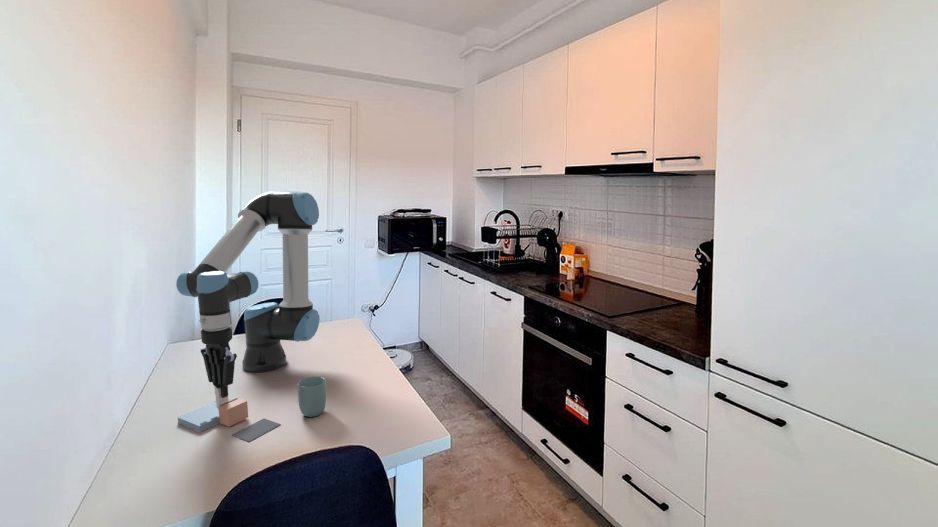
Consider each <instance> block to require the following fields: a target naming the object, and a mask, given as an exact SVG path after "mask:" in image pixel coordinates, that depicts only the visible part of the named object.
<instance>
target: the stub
mask: <svg viewBox="0 0 938 527" xmlns="http://www.w3.org/2000/svg"><path fill="white" fill-rule="evenodd" d="M228 401H229V402H226V403H224V404H222V405H220V406H218V409H219V421H220V423H219V424H221V425H224V426H226V427H231V426H233V425H235V424H237V423H239V422H241V421H244V420H246V419H248V418H249V409H248V408H249V407H248V401H247V400H246V399H244V398H243V399H242V398H240V397H236V398H234V399H232V400H228Z"/></svg>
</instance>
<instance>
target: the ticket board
mask: <svg viewBox="0 0 938 527" xmlns="http://www.w3.org/2000/svg"><path fill="white" fill-rule="evenodd" d="M177 424H179V425H182V426H184V427H186V428H188V429H191V430H194V431H196V432H197V433H198V432H199V433H201V432H204V431H205V430H208V429H209V428H212V427H214V426H216V425H218V424H221V423H220V421H219V409H217V406H216V400H215V401H212V402H211V403H209V404H206V405H204V406H201V407H199V408H197V409H194V410H192V411H189V412H188V413H184V414H183V415H182V414H181V415H180V416H178V417H177Z"/></svg>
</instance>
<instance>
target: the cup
mask: <svg viewBox="0 0 938 527" xmlns="http://www.w3.org/2000/svg"><path fill="white" fill-rule="evenodd" d="M326 382H327V381H326V378H325V377H323V376H318V375H317V376H316V375H315V376H308V377H304V378H301V379H300V380H298V382H297V388H296V389H297V399H298V400H297V402H298V406H299V407H298V408H299V410H300V413H301V414H302V415H303V416H304V417H307V418H309V417H310V418H313V417H318V416H319V415H321V414H322V413H323V412H324V410H326V409H325V408H326V406H327V383H326Z"/></svg>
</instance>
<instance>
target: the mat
mask: <svg viewBox="0 0 938 527" xmlns="http://www.w3.org/2000/svg"><path fill="white" fill-rule="evenodd" d="M279 426H281V423H280V422H279V423H278V422H275V421H273V420H270V419H268V418H262V419H260V420H258V421H256V422H253V423H252V424H250V425H248V426H245V427H244V428H242V429H240V430H238V431H236V432H234V433H232V434H231V436H232V437H234V438H237V439H240V440H242V441H245V442H247V443H251V442H252V441H254V440H256V439H258V438H259V437H261V436H263V435H266V433H269V432H270V431H272V430H274V429H276V428H278V427H279ZM268 431H269V432H268Z"/></svg>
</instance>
